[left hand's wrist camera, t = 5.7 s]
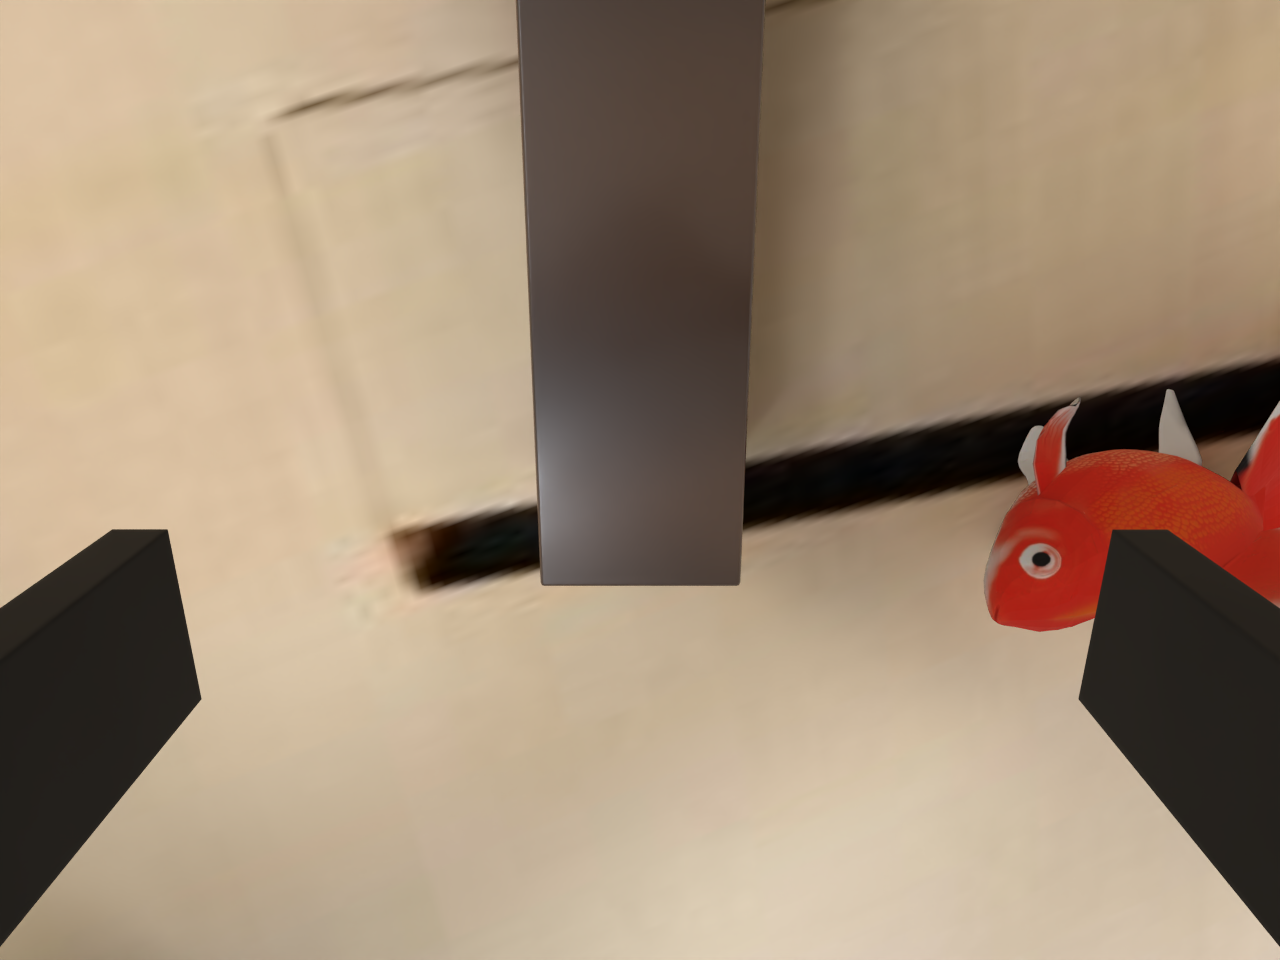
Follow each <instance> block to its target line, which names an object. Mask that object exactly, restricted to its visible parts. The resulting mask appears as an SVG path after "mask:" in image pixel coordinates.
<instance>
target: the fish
mask: <svg viewBox="0 0 1280 960" xmlns="http://www.w3.org/2000/svg"><path fill="white" fill-rule="evenodd" d="M1080 403H1081V398H1080V397H1079V398H1077V399H1076V400H1074V401H1073V402H1072V403H1071V404H1070V405H1069V406H1067V407H1064V408H1062V409H1059V410H1058V411H1057V412H1056V413H1055V414H1054V415H1053V416H1052V418H1051V419H1050V420H1049V422H1048V423H1047V424H1046V425H1045V426H1044V427H1043V426H1035V427H1033V428H1032V429H1031V430H1030V432H1029V434H1028V435H1027V438H1026V440H1025V442H1024V444H1023V446H1022V449H1021V451H1020V453H1019V458H1018V464H1019V467H1020V469H1021V471H1022V472H1023V474H1024V475H1025V476H1026V478H1027V481H1028V486H1027V487H1026V488H1025V489H1024V490H1023V491H1022V492H1021V494H1020V495H1019V496H1018V498H1017V499H1016V500H1015V502H1014V503H1013V505H1012V507H1011V508H1010V510H1009V511H1008V512H1007V514H1006V516H1005V518H1004V520H1003V522H1002V524H1001V527H1000V529H999V531H998V534H997V536H996V539H995V542H994V544H993V547H992V549H991V553H990V556H989V559H988V562H987V565H986V570H985V576H984V593H985V598H986V602H987V606H988V610H989V613H990V615H991V617H992V619H993V620H994V621H996V622H997V623H998V624H1001V625H1006V626H1013V627H1018V628H1023V629H1028V630H1033V631H1038V632H1041V631H1049V630H1059V629H1063V628H1067V627H1072V626H1075V625H1077V624H1080V623H1082V622H1085V621H1088V620H1091V619H1093V618H1095V614H1096V609H1097V604H1098V599H1099V594H1100V589H1101V584H1102V579H1103V574H1104V569H1105V564H1106V559H1107V554H1108V549H1109V544H1110V539H1111V534H1112V530H1169V531H1170V532H1172V533H1173V534H1175V535H1176V536H1178V537H1179V538H1180V539H1182V540H1183V541H1185V542H1186V543H1188V544H1189V545H1190V546H1192V547H1193V548H1195V549H1196V550H1197V551H1199V552H1200V553H1202V554H1203V555H1205V556H1206V557H1207V558H1209V559H1210V560H1212V561H1213V562H1215V563H1216V564H1217V565H1219V566H1220V567H1222V568H1223V569H1225V570H1226V571H1227V572H1229V573H1230V574H1232V575H1233V576H1235V577H1236V578H1237V579H1239V580H1240V581H1242V582H1243V583H1245V584H1246V585H1247V586H1249V587H1250V588H1252V589H1253V590H1255V591H1256V592H1257V593H1259V594H1260V595H1262V596H1263V597H1264V598H1266V599H1267V600H1269V601H1270V602H1272V603H1273V604H1274V605H1276V606H1277V607H1279V608H1280V401H1279V403H1278V405H1277V406H1276V408H1275V409H1274V411H1273V412H1272V414H1271V416H1270V417H1269V419H1268V420H1267V422H1266V423H1265V425H1264V427H1263V428H1262V430H1261V431H1260V433H1259V435H1258V436H1257V438H1256V439H1255V441H1254V442H1253V444H1252V445H1251V447H1250V448H1249V450H1248V452H1247V453H1246V455H1245V456H1244V458H1243V459H1242V461H1241V463H1240V464H1239V466H1238V467H1237V469H1236V470H1235V472H1234V474H1233V477H1232V479H1231V481H1228V480H1227V479H1225V478H1223V477H1221V476H1219V475H1218V474H1216V473H1214V472H1212V471H1210V470H1208V469H1206V468H1204V467H1202V459H1201V456H1200V453H1199V450H1198V447H1197V445H1196V443H1195V441H1194V439H1193V437H1192V435H1191V433H1190V431H1189V428H1188V426H1187V424H1186V422H1185V419H1184V417H1183V414H1182V412H1181V409H1180V406H1179V404H1178V401H1177V398H1176V395H1175V393H1174V391H1173V390H1170V389H1167V391H1166V396H1165V401H1164V406H1163V410H1162V414H1161V419H1160V426H1159V453H1158V452H1152V451H1144V450H1130V449H1120V450H1109V451H1103V452H1096V453H1091V454H1086V455H1082V456H1079V457H1076V458H1074V459H1071V460H1068V459H1067V449H1066V433H1067V430H1068V427H1069V424H1070V422H1071V420H1072V418H1073V417H1074V415H1075V413H1076V411H1077V409H1078V408H1079V405H1080Z"/></svg>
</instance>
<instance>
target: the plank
mask: <svg viewBox="0 0 1280 960" xmlns="http://www.w3.org/2000/svg"><path fill="white" fill-rule="evenodd" d="M516 15H517V38H518V62H519V85H520V108H521V132H522V155H523V178H524V202H525V225H526V248H527V271H528V295H529V318H530V341H531V365H532V388H533V411H534V435H535V458H536V481H537V505H538V528H539V551H540V575H541V584H542V585H544V586H737V585H739V584H740V574H741V551H742V528H743V505H744V482H745V459H746V436H747V413H748V390H749V366H750V343H751V320H752V297H753V274H754V251H755V228H756V205H757V182H758V159H759V135H760V112H761V89H762V66H763V43H764V20H765V0H516Z"/></svg>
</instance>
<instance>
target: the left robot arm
mask: <svg viewBox="0 0 1280 960" xmlns="http://www.w3.org/2000/svg"><path fill="white" fill-rule="evenodd" d="M200 700H201V694H200V689H199V684H198V679H197V674H196V669H195V664H194V659H193V654H192V649H191V644H190V639H189V634H188V629H187V624H186V619H185V614H184V609H183V604H182V599H181V594H180V589H179V584H178V579H177V574H176V569H175V564H174V559H173V554H172V549H171V544H170V539H169V534H168V530H111V531H110V532H108V533H107V534H105V535H104V536H102V537H101V538H100V539H98V540H97V541H95V542H94V543H92V544H91V545H90V546H88V547H87V548H85V549H84V550H83V551H81V552H80V553H78V554H77V555H75V556H74V557H73V558H71V559H70V560H68V561H67V562H65V563H64V564H63V565H61V566H60V567H58V568H57V569H55V570H54V571H53V572H51V573H50V574H48V575H47V576H45V577H44V578H43V579H41V580H40V581H38V582H37V583H35V584H34V585H33V586H31V587H30V588H28V589H27V590H25V591H24V592H23V593H21V594H20V595H18V596H17V597H16V598H14V599H13V600H11V601H10V602H8V603H7V604H6V605H4V606H3V607H1V608H0V946H1V945H2V944H3V943H4V941H5V940H6V939H7V938H8V936H9V935H10V934H11V933H12V932H13V930H14V929H15V928H16V927H17V925H18V924H19V923H20V922H21V920H22V919H23V918H24V917H25V916H26V914H27V913H28V912H29V911H30V909H31V908H32V907H33V906H34V904H35V903H36V902H37V901H38V900H39V898H40V897H41V896H42V895H43V893H44V892H45V891H46V890H47V888H48V887H49V886H50V885H51V884H52V882H53V881H54V880H55V879H56V877H57V876H58V875H59V874H60V872H61V871H62V870H63V869H64V868H65V866H66V865H67V864H68V863H69V861H70V860H71V859H72V858H73V856H74V855H75V854H76V853H77V852H78V850H79V849H80V848H81V847H82V845H83V844H84V843H85V842H86V840H87V839H88V838H89V837H90V836H91V834H92V833H93V832H94V831H95V829H96V828H97V827H98V826H99V825H100V823H101V822H102V821H103V820H104V818H105V817H106V816H107V815H108V813H109V812H110V811H111V810H112V809H113V807H114V806H115V805H116V804H117V802H118V801H119V800H120V799H121V797H122V796H123V795H124V794H125V793H126V791H127V790H128V789H129V788H130V786H131V785H132V784H133V783H134V781H135V780H136V779H137V778H138V777H139V775H140V774H141V773H142V772H143V770H144V769H145V768H146V767H147V765H148V764H149V763H150V762H151V761H152V759H153V758H154V757H155V756H156V754H157V753H158V752H159V751H160V749H161V748H162V747H163V746H164V745H165V743H166V742H167V741H168V740H169V738H170V737H171V736H172V735H173V733H174V732H175V731H176V730H177V729H178V727H179V726H180V725H181V724H182V722H183V721H184V720H185V719H186V717H187V716H188V715H189V714H190V713H191V711H192V710H193V709H194V708H195V706H196V705H197V704H198V703H199V701H200ZM1079 700H1080V701H1081V703H1082V704H1083V705H1084V706H1085V708H1086V709H1087V710H1088V711H1089V713H1090V714H1091V715H1092V716H1093V717H1094V719H1095V720H1096V721H1097V722H1098V724H1099V725H1100V726H1101V727H1102V729H1103V730H1104V731H1105V732H1106V733H1107V735H1108V736H1109V737H1110V738H1111V740H1112V741H1113V742H1114V743H1115V745H1116V746H1117V747H1118V748H1119V749H1120V751H1121V752H1122V753H1123V754H1124V756H1125V757H1126V758H1127V759H1128V761H1129V762H1130V763H1131V764H1132V765H1133V767H1134V768H1135V769H1136V770H1137V772H1138V773H1139V774H1140V775H1141V777H1142V778H1143V779H1144V780H1145V781H1146V783H1147V784H1148V785H1149V786H1150V788H1151V789H1152V790H1153V791H1154V793H1155V794H1156V795H1157V796H1158V797H1159V799H1160V800H1161V801H1162V802H1163V804H1164V805H1165V806H1166V807H1167V809H1168V810H1169V811H1170V812H1171V813H1172V815H1173V816H1174V817H1175V818H1176V820H1177V821H1178V822H1179V823H1180V825H1181V826H1182V827H1183V828H1184V829H1185V831H1186V832H1187V833H1188V834H1189V836H1190V837H1191V838H1192V839H1193V841H1194V842H1195V843H1196V844H1197V845H1198V847H1199V848H1200V849H1201V850H1202V852H1203V853H1204V854H1205V855H1206V856H1207V858H1208V859H1209V860H1210V861H1211V863H1212V864H1213V865H1214V866H1215V868H1216V869H1217V870H1218V871H1219V872H1220V874H1221V875H1222V876H1223V877H1224V879H1225V880H1226V881H1227V882H1228V884H1229V885H1230V886H1231V887H1232V888H1233V890H1234V891H1235V892H1236V893H1237V895H1238V896H1239V897H1240V898H1241V900H1242V901H1243V902H1244V903H1245V904H1246V906H1247V907H1248V908H1249V909H1250V911H1251V912H1252V913H1253V914H1254V916H1255V917H1256V918H1257V919H1258V920H1259V922H1260V923H1261V924H1262V925H1263V927H1264V928H1265V929H1266V930H1267V932H1268V933H1269V934H1270V935H1271V936H1272V938H1273V939H1274V940H1275V941H1276V943H1277V944H1278V945H1279V946H1280V608H1279V607H1277V606H1276V605H1274V604H1273V603H1272V602H1270V601H1269V600H1267V599H1266V598H1264V597H1263V596H1262V595H1260V594H1259V593H1257V592H1256V591H1255V590H1253V589H1252V588H1250V587H1249V586H1247V585H1246V584H1245V583H1243V582H1242V581H1240V580H1239V579H1237V578H1236V577H1235V576H1233V575H1232V574H1230V573H1229V572H1227V571H1226V570H1225V569H1223V568H1222V567H1220V566H1219V565H1217V564H1216V563H1215V562H1213V561H1212V560H1210V559H1209V558H1207V557H1206V556H1205V555H1203V554H1202V553H1200V552H1199V551H1197V550H1196V549H1195V548H1193V547H1192V546H1190V545H1189V544H1188V543H1186V542H1185V541H1183V540H1182V539H1180V538H1179V537H1178V536H1176V535H1175V534H1173V533H1172V532H1170V531H1169V530H1112V534H1111V539H1110V544H1109V549H1108V554H1107V559H1106V564H1105V569H1104V574H1103V579H1102V584H1101V589H1100V594H1099V599H1098V604H1097V609H1096V614H1095V619H1094V624H1093V629H1092V634H1091V639H1090V644H1089V649H1088V654H1087V659H1086V664H1085V669H1084V674H1083V679H1082V684H1081V689H1080V694H1079Z"/></svg>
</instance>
